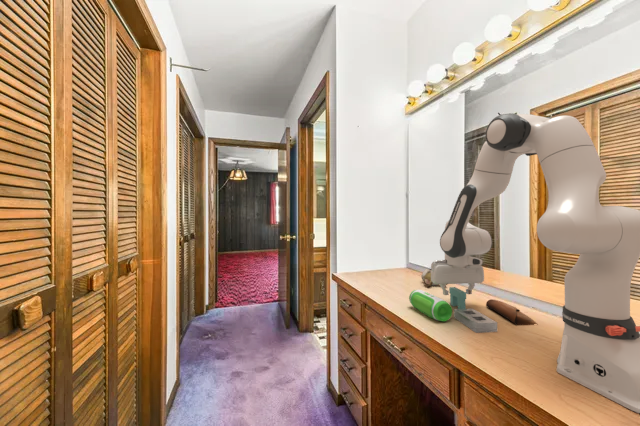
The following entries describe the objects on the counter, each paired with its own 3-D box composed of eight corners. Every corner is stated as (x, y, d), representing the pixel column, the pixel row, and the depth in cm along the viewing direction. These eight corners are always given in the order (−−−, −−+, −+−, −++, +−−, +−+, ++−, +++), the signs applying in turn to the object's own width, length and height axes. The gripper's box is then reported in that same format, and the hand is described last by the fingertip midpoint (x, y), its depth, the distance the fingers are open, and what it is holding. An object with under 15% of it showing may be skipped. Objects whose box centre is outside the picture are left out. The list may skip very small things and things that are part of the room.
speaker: (454, 322, 98) (453, 300, 98) (435, 324, 97) (435, 302, 97) (424, 306, 115) (423, 287, 115) (408, 307, 114) (407, 289, 114)
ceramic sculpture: (435, 265, 155) (449, 272, 140) (435, 280, 155) (449, 289, 140) (416, 265, 154) (427, 273, 139) (416, 281, 155) (427, 290, 140)
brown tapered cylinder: (541, 324, 94) (530, 307, 94) (522, 335, 94) (511, 318, 94) (507, 306, 112) (498, 292, 112) (491, 316, 112) (482, 301, 112)
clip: (466, 310, 109) (466, 292, 109) (460, 311, 108) (460, 292, 108) (455, 304, 117) (455, 287, 117) (449, 304, 116) (449, 287, 116)
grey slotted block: (497, 331, 90) (497, 322, 90) (475, 332, 89) (475, 323, 89) (472, 316, 103) (472, 308, 102) (454, 317, 102) (453, 309, 102)
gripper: (435, 261, 109) (435, 297, 109) (486, 260, 110) (486, 295, 110) (427, 258, 115) (428, 292, 115) (476, 257, 116) (476, 291, 116)
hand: (457, 294), depth 113 cm, fingers open, 8 cm apart
